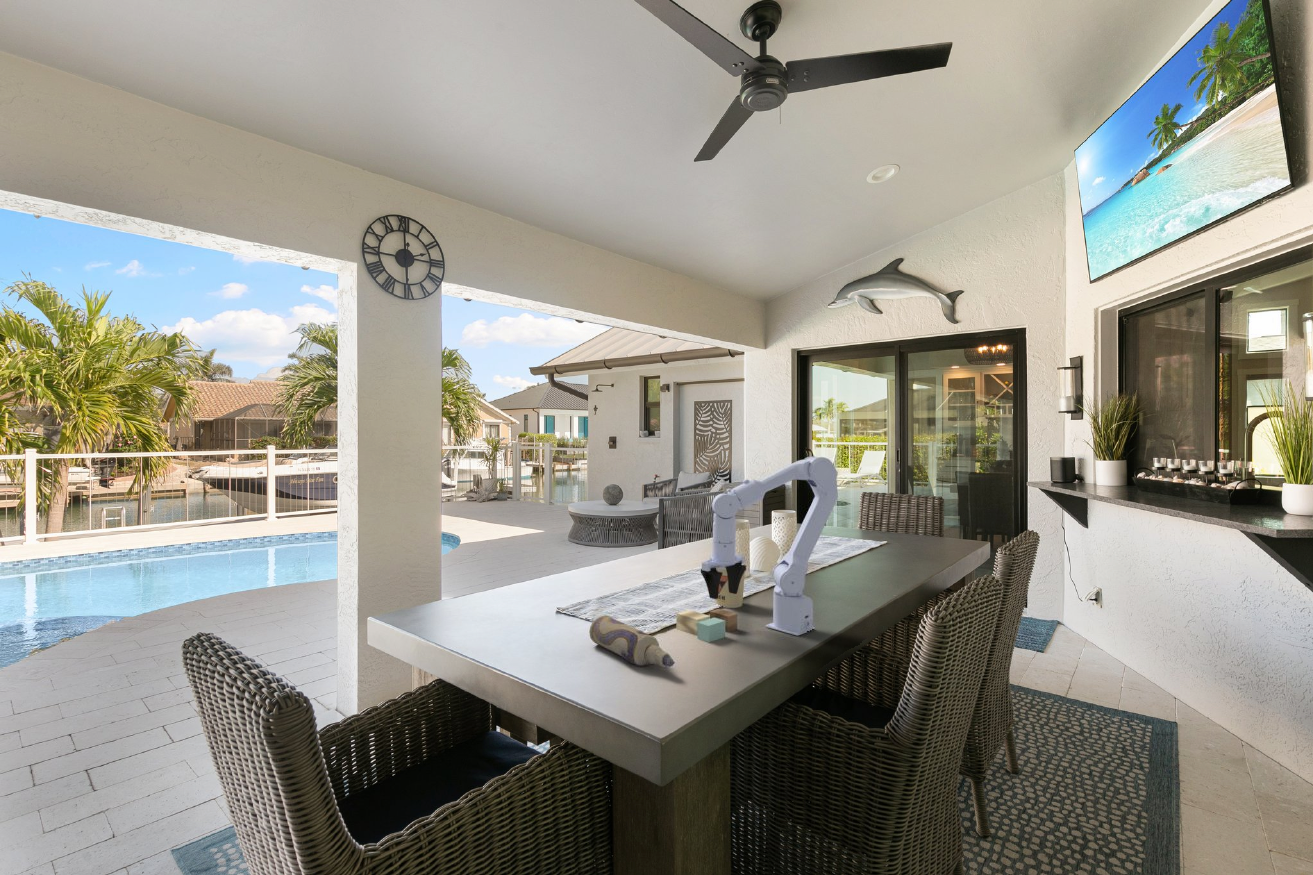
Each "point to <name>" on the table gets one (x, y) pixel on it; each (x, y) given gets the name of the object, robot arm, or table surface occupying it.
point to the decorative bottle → (628, 642)
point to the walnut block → (725, 618)
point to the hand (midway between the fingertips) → (723, 595)
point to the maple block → (689, 621)
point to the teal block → (711, 629)
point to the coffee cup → (724, 596)
